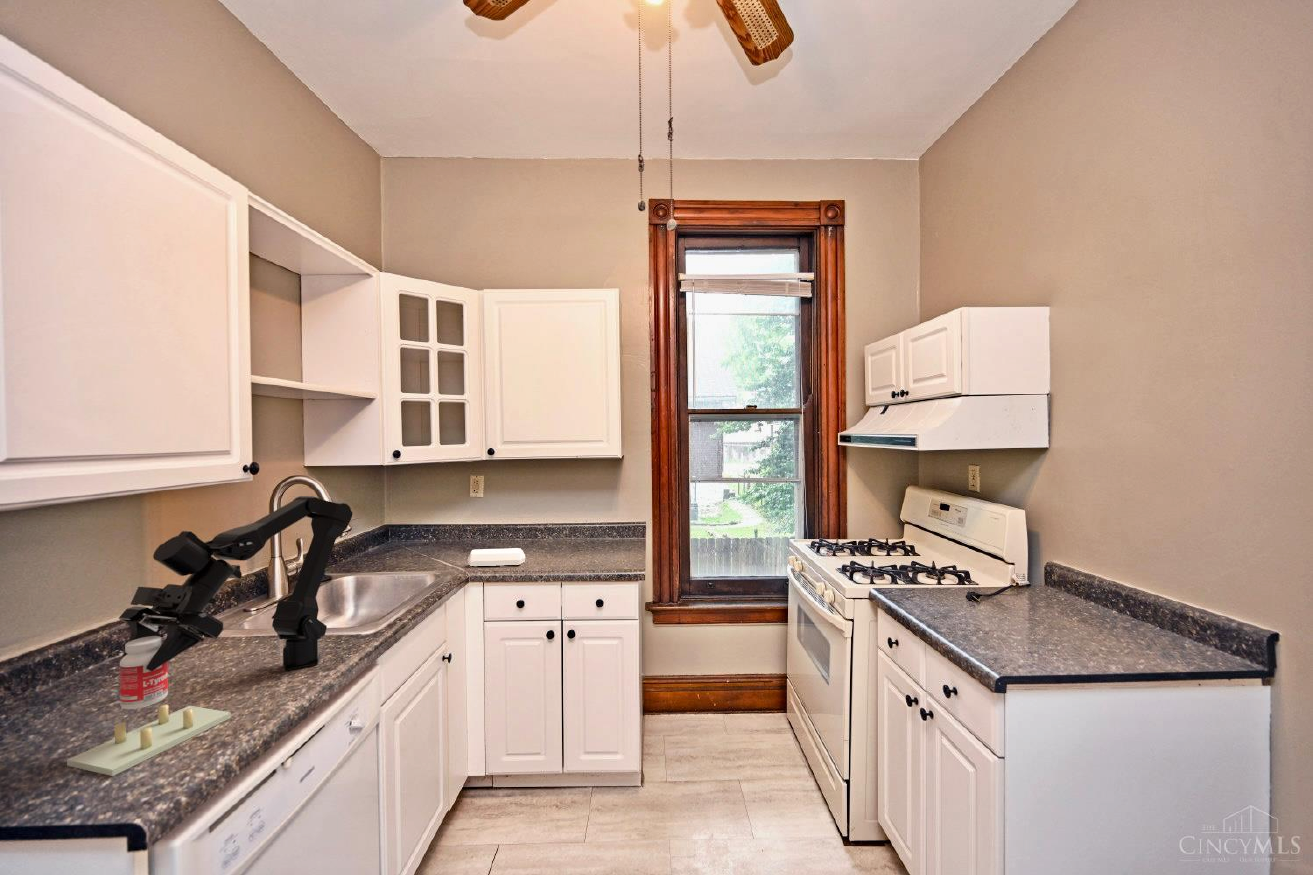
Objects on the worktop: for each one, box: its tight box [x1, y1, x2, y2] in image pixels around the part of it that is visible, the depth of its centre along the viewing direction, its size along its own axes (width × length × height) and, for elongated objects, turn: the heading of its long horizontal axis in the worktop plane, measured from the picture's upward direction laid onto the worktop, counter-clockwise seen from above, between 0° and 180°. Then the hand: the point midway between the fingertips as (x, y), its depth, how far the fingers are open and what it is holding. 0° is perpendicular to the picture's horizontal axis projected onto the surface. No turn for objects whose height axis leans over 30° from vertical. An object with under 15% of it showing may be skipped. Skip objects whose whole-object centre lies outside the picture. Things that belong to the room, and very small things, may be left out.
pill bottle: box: [119, 636, 169, 710], centre depth 94 cm, size 6×6×11 cm
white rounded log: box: [467, 547, 526, 567], centre depth 220 cm, size 7×7×24 cm
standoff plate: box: [66, 704, 232, 777], centre depth 94 cm, size 18×11×4 cm, turn 164°
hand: (135, 668), depth 93 cm, fingers closed on pill bottle, 6 cm apart
